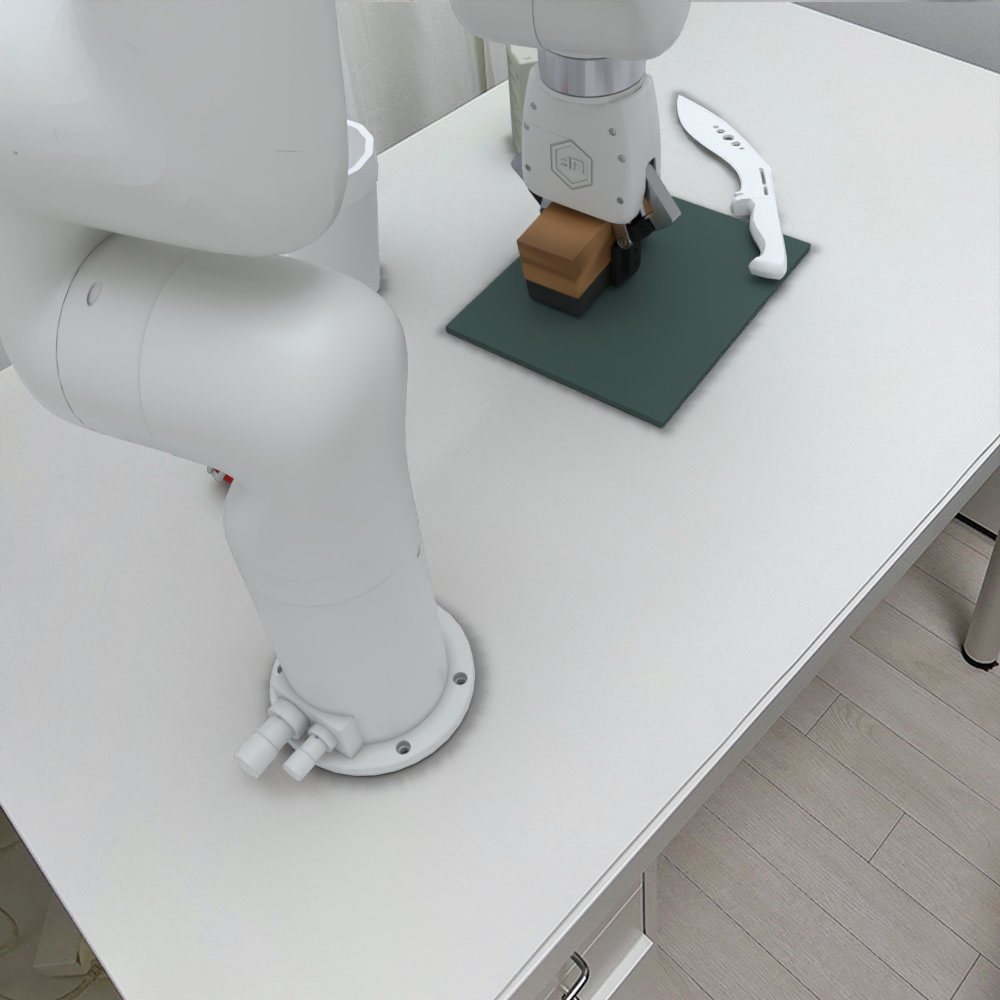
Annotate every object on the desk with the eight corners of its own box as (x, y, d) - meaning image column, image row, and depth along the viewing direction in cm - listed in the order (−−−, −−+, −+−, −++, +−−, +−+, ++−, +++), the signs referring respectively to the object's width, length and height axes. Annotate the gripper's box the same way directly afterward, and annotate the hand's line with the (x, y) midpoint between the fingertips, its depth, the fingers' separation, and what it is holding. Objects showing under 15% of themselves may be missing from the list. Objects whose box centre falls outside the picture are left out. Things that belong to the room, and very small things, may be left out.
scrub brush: (581, 317, 87) (572, 260, 82) (527, 297, 89) (516, 240, 84) (660, 223, 92) (656, 164, 87) (607, 206, 94) (600, 147, 89)
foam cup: (421, 274, 93) (399, 138, 83) (349, 337, 89) (317, 201, 79) (337, 238, 97) (307, 104, 87) (265, 297, 93) (224, 163, 83)
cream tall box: (570, 159, 103) (567, 56, 95) (524, 168, 102) (517, 66, 94) (555, 129, 106) (551, 28, 98) (511, 138, 105) (503, 37, 98)
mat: (662, 428, 80) (662, 422, 80) (445, 331, 89) (445, 326, 88) (810, 249, 92) (811, 243, 91) (606, 178, 100) (606, 173, 100)
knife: (676, 86, 108) (757, 84, 107) (675, 102, 109) (755, 100, 108) (690, 266, 87) (791, 265, 86) (689, 283, 88) (788, 282, 88)
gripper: (462, 51, 79) (483, 255, 93) (670, 116, 71) (659, 327, 85) (523, 5, 82) (535, 209, 96) (727, 63, 75) (708, 274, 89)
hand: (593, 263), depth 91 cm, fingers closed on scrub brush, 5 cm apart
